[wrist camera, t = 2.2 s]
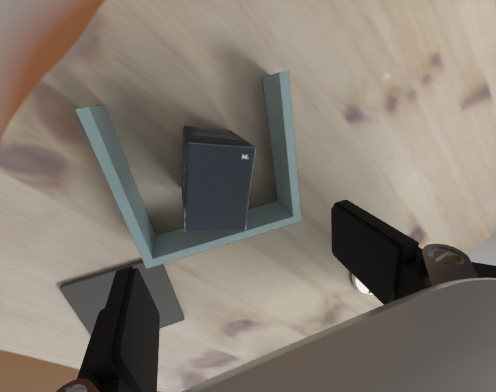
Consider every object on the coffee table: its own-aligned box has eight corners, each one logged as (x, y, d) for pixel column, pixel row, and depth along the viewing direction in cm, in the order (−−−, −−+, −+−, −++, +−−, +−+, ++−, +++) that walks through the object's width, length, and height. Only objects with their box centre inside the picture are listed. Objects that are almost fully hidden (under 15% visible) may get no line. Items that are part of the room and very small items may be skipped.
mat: (159, 255, 32) (159, 258, 31) (184, 316, 37) (184, 319, 36) (61, 284, 30) (59, 288, 29) (101, 345, 35) (100, 349, 34)
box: (182, 125, 27) (186, 140, 17) (231, 130, 29) (259, 146, 19) (180, 190, 30) (183, 234, 20) (225, 191, 31) (247, 232, 22)
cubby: (270, 75, 27) (288, 70, 23) (285, 205, 35) (301, 221, 30) (93, 106, 24) (75, 109, 19) (150, 244, 31) (146, 268, 27)
